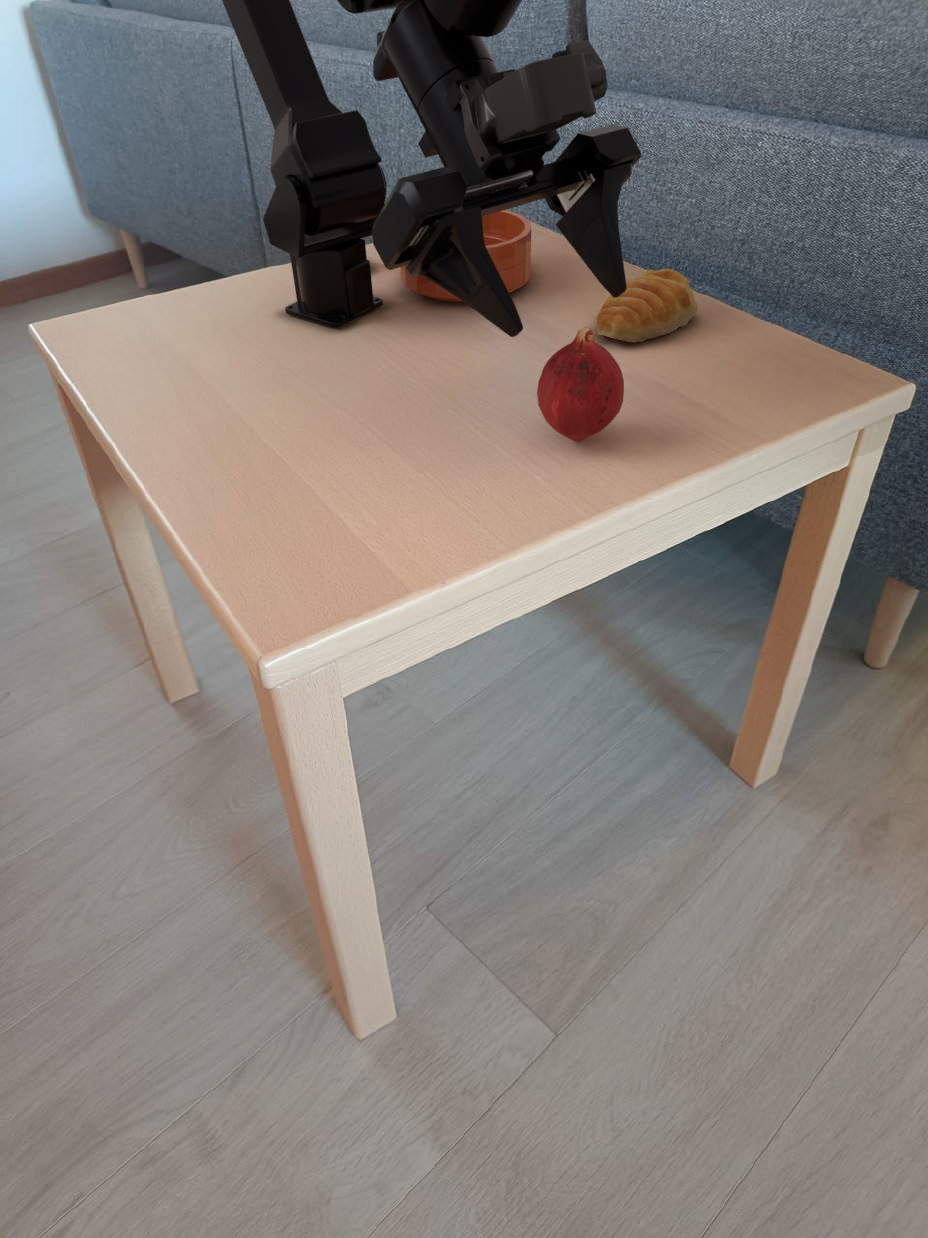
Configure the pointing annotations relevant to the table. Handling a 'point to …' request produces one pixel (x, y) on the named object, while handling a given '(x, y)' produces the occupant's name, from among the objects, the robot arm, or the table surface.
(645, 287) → the pastry
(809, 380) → the table surface
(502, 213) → the bowl
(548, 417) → the onion
